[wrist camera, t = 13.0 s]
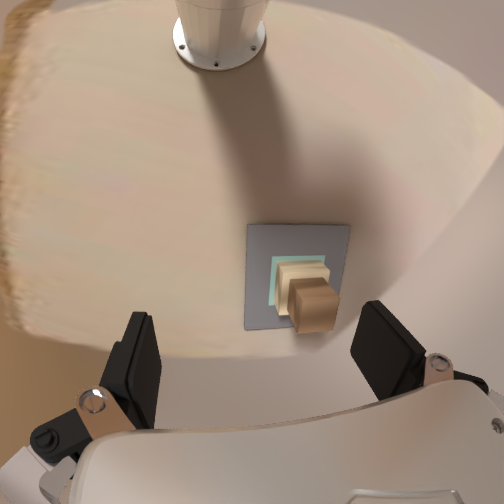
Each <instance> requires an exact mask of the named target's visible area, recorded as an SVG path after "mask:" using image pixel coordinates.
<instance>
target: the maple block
mask: <svg viewBox="0 0 504 504" xmlns="http://www.w3.org/2000/svg"><path fill="white" fill-rule="evenodd" d="M329 275H330V270H329V269H328V268H327V267H326V266H325V265H324V264H323V262H322V261H321V260H304V261H277V265H276V277H275V289H274V301H273V302H274V304H275V307H276V309H277V312H278V314H279V315H289V313H288V311H287V303H288V293H289V283H290V279H301V278H319V277H323V278H324V279H325V280H326V281H327V283H328V281H329Z"/></svg>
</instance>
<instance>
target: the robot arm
mask: <svg viewBox="0 0 504 504" xmlns="http://www.w3.org/2000/svg"><path fill="white" fill-rule="evenodd" d="M269 1H270V0H175V2H176V6H177V10H178V14H179V18H178V19H177V21H176V23H175V25H174V29H173V42H174V46H175V48H176V51H177V52H178V53H179V55H180V56H181V57H182V58H183V59H184V60H185V61H186V62H188V63H190V64H191V65H193V66H195V67H198V68H201V69H205V70H214V71H221V70H229V69H233V68H236V67H239V66H241V65H243V64H245V63H247V62H248V61H250V60H251V59H252V58H253V57H254V56H255V55H256V54H257V53H258V52H259V50H260V49H261V47H262V45H263V43H264V39H265V26H264V23H263V20H262V16H263V14H264V12H265V10H266V7H267V5H268V3H269ZM182 48H184V49H183V50H181V49H182ZM251 49H254V50H255V51H252V50H251ZM215 64H218V66H217V67H216V66H215ZM350 352H351V356H352V358H353V359H354V361H355V362H356V364H357V366H358V367H359V369H360V370H361V372H362V374H363V375H364V377H365V379H366V380H367V382H368V384H369V385H370V387H371V388H372V390H373V392H374V393H375V395H376V397H377V398H378V400H379V401H378V402H375V403H371V404H368V405H364V406H361V407H357V408H353V409H349V410H345V411H341V412H337V413H332V414H327V415H323V416H317V417H312V418H307V419H301V420H295V421H289V422H281V423H274V424H266V425H257V426H246V427H233V428H212V429H211V428H210V429H154V422H155V413H156V405H157V397H158V390H159V383H160V376H161V369H162V365H161V359H160V355H159V350H158V346H157V341H156V336H155V331H154V325H153V320H152V316H151V315H147V312H133V313H132V315H131V318H130V320H129V323H128V325H127V328H126V331H125V333H124V336H123V339H122V341H121V342H118V341H117V342H115V344H114V346H113V348H112V351H111V353H110V356H109V359H108V361H107V364H106V367H105V370H104V372H103V375H102V378H101V381H100V384H99V386H90V387H87V388H85V389H83V390H81V391H80V392H79V393H78V394H77V396H76V398H75V406H76V408H74V409H72V410H70V411H69V412H66V413H65V414H63V415H61V416H59V417H57V418H55V419H53V420H51V421H49V422H47V423H45V424H43V425H40V426H39V427H37V428H36V429H35V430H34V431H33V432H32V434H31V437H30V444H31V445H30V446H28V447H27V448H26V447H25V446H24V447H23V448H21V450H19V451H18V452H17V453H16V454H15V455H14V456H13V457H12V458H11V459H10V460H9V461H8V462H7V463H6V464H5V465H4V466H3V467H2V468H0V490H1V491H2V493H3V494H4V496H5V497H6V498H7V499H8V501H9V502H10V503H11V504H61V503H60V500H59V497H60V493H61V491H62V490H63V489H64V488H65V487H66V486H65V485H64V484H65V483H66V482H67V481H68V480H69V479H73V480H72V485H71V490H70V496H69V502H68V504H504V396H502V395H501V394H499V393H497V392H495V391H493V390H492V389H491V390H490V392H489V389H488V386H487V384H486V383H485V381H484V380H483V379H481V378H478V377H475V376H472V375H468V374H465V373H461V372H458V371H454V370H453V364H452V362H451V360H450V359H448V357H446V356H445V355H442V354H439V353H432V354H430V355H428V356H427V358H426V357H425V353H426V350H425V349H424V347H422V345H421V344H420V343H419V342H418V341H417V340H416V339H415V338H414V337H413V335H411V333H410V332H409V331H408V330H407V329H406V328H405V327H404V326H403V325H402V324H401V323H400V321H399V320H398V319H397V318H396V317H395V316H394V315H393V314H392V313H391V312H390V311H389V310H388V309H387V308H386V307H385V306H384V305H383V304H382V303H381V302H380V301H379V300H375V301H368V302H366V304H365V305H364V306H363V308H362V311H361V315H360V318H359V322H358V326H357V329H356V333H355V336H354V339H353V342H352V346H351V349H350Z"/></svg>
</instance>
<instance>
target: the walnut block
mask: <svg viewBox="0 0 504 504" xmlns="http://www.w3.org/2000/svg"><path fill="white" fill-rule="evenodd" d="M339 301H340V298H339V296H338V295H337V294H336V293H335V291H334V290H333V289H332V288H331V286H330V285H329V284H328V283H327V281H326V280H325V279H324V278H323V277H319V278H301V279H290V283H289V293H288V303H287V311H288V313H289V315H290V318H291V320H292V322H293V324H294V326H295V329H296V331H297V333H298V334H304V333H313V332H321V331H329V330H333V328H334V324H335V319H336V315H337V310H338V306H339Z"/></svg>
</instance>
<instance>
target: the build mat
mask: <svg viewBox="0 0 504 504" xmlns="http://www.w3.org/2000/svg"><path fill="white" fill-rule="evenodd" d="M349 233H350V226H349V225H297V224H247V252H246V283H245V315H244V330H252V329H269V328H283V327H295V326H294V324H293V322H292V320H291V318H290V315H279V314H278V312H277V309H276V307H275V304H274V302H273V301H274V289H275V277H276V265H277V261H304V260H321V261H322V262H323V264H324V265H325V266H326V267H327V268H328V269H329V270H330V275H329V281H328V284H329V285H330V286H331V288H332V289H333V290H334V291H335V293H336V294H337V295H339V290H340V285H341V280H342V275H343V269H344V264H345V258H346V252H347V246H348V239H349Z"/></svg>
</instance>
